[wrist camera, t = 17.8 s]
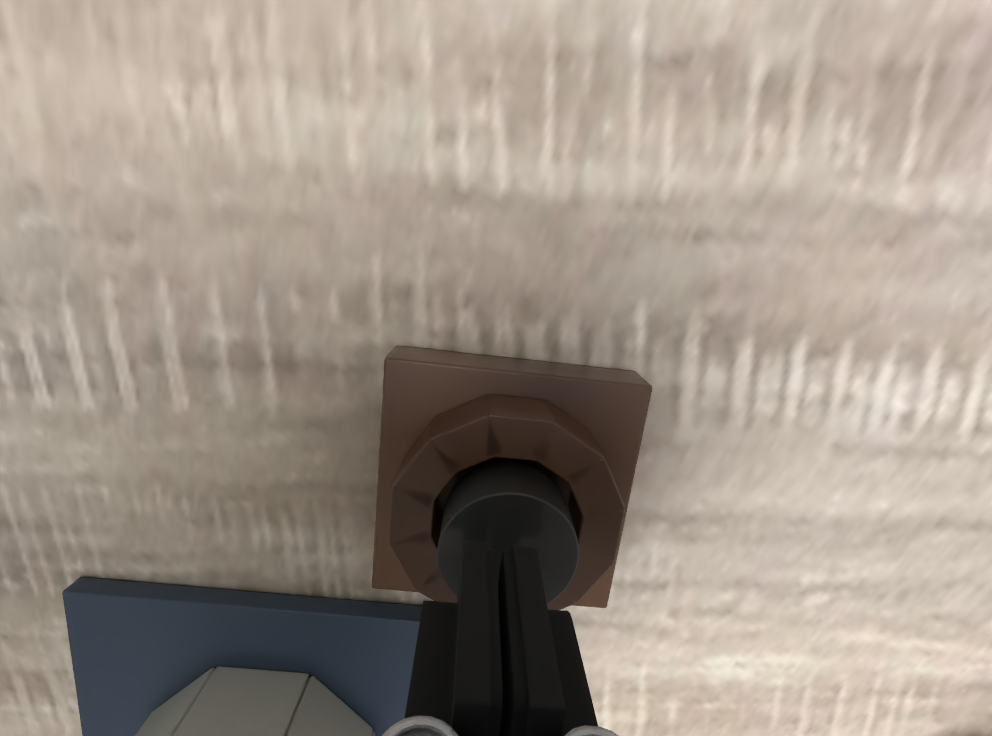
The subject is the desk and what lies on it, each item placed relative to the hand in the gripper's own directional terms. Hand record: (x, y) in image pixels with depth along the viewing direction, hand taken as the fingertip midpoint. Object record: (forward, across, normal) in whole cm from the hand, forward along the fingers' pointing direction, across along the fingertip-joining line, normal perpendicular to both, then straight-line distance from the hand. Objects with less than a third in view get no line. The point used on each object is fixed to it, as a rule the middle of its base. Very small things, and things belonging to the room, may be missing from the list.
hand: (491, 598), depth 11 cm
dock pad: (+6, +8, +13) cm, 16 cm away
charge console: (+6, 0, 0) cm, 6 cm away
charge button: (+3, 0, 0) cm, 3 cm away
